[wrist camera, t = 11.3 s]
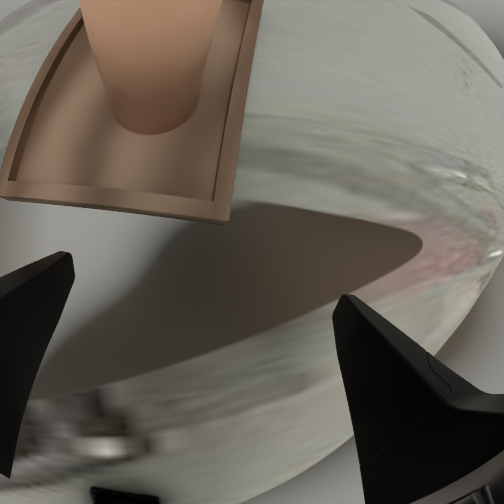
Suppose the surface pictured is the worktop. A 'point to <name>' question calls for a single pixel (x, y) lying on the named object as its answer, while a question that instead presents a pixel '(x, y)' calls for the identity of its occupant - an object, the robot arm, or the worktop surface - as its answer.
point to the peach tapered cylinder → (151, 57)
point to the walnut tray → (132, 133)
